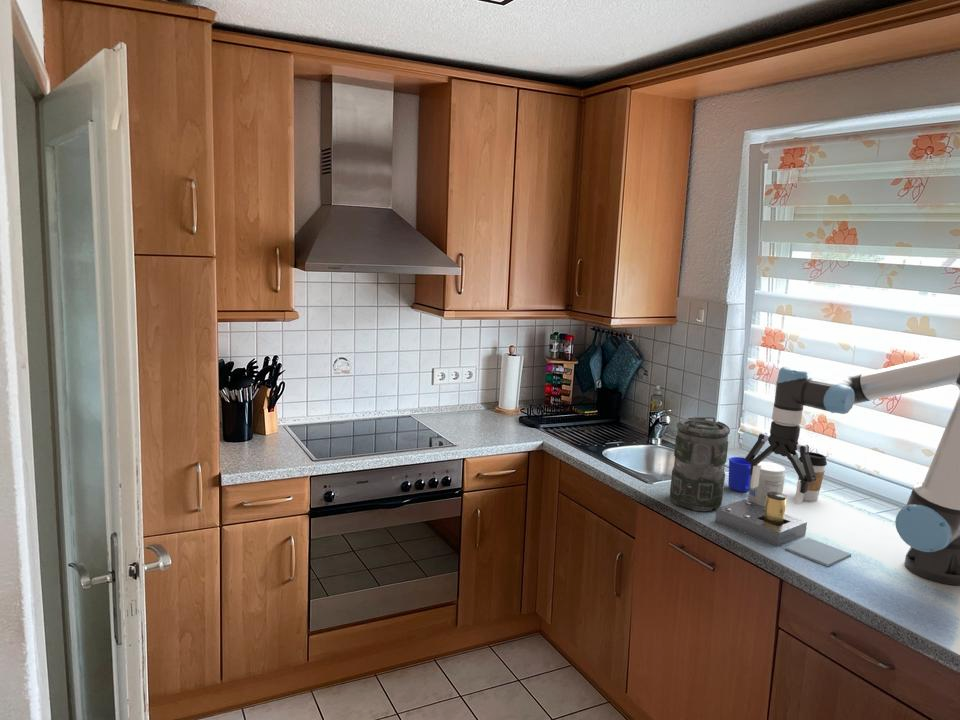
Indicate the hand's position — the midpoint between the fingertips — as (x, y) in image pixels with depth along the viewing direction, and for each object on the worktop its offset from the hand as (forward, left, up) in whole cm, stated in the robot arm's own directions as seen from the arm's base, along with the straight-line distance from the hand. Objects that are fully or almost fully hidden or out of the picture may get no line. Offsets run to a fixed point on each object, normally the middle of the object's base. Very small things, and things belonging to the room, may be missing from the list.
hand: (775, 495), depth 203 cm
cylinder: (0, 0, -11) cm, 11 cm away
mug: (+25, -23, -12) cm, 36 cm away
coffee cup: (+10, -37, -12) cm, 40 cm away
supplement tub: (+11, -13, -12) cm, 20 cm away
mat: (-14, +1, -11) cm, 18 cm away
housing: (+4, 0, -11) cm, 12 cm away
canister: (+26, 0, -12) cm, 29 cm away
